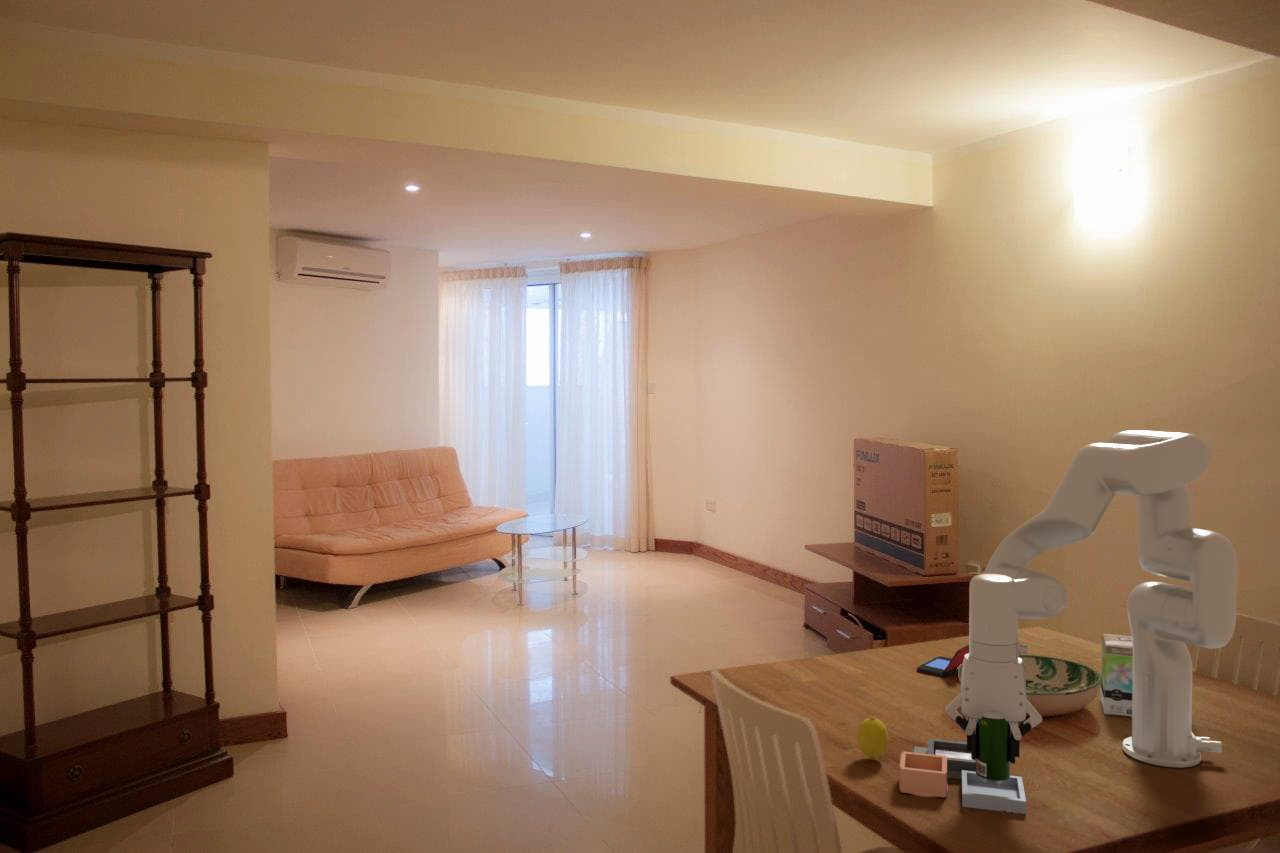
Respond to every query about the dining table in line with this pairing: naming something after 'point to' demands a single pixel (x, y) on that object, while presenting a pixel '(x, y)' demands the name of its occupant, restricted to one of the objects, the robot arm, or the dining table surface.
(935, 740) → the button control box
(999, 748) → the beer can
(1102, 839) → the dining table surface
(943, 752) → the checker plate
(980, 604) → the robot arm
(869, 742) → the lemon
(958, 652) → the handheld game console
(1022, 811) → the light blue-grey square tray
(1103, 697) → the tea box
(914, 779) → the peach open box
